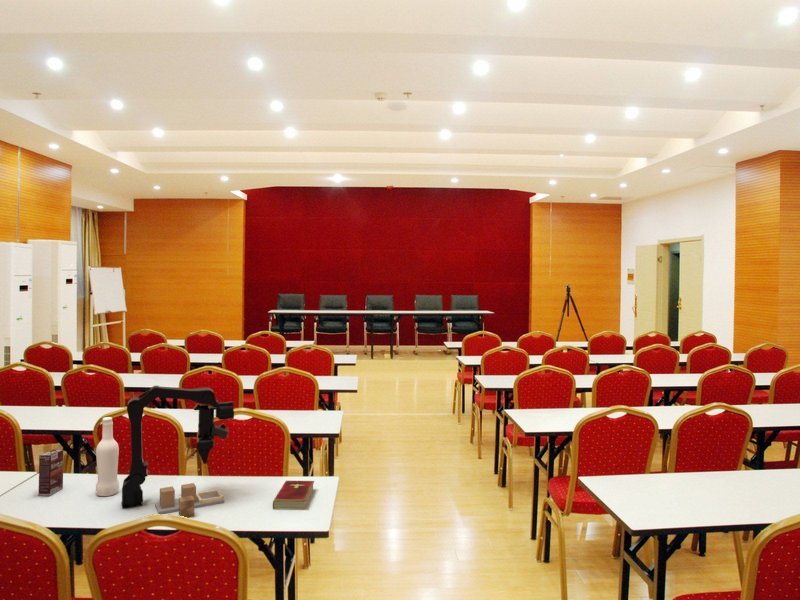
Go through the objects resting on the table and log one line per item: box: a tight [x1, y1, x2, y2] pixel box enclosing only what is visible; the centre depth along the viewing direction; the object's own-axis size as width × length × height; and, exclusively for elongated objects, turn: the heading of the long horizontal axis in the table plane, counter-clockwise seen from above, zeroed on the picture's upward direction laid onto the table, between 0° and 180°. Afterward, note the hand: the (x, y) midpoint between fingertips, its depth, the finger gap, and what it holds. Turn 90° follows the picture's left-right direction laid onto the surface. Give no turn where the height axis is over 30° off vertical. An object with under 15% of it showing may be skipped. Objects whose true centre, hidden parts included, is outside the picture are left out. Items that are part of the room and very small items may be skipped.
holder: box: [154, 482, 225, 515], centre depth 209 cm, size 23×10×7 cm, turn 121°
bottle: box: [95, 416, 120, 497], centre depth 219 cm, size 8×8×30 cm
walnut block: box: [178, 496, 195, 518], centre depth 199 cm, size 4×4×6 cm
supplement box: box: [38, 448, 64, 497], centre depth 220 cm, size 9×5×16 cm, turn 0°
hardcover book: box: [272, 480, 315, 510], centre depth 216 cm, size 12×21×4 cm, turn 179°
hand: (205, 460), depth 218 cm, fingers open, 9 cm apart
